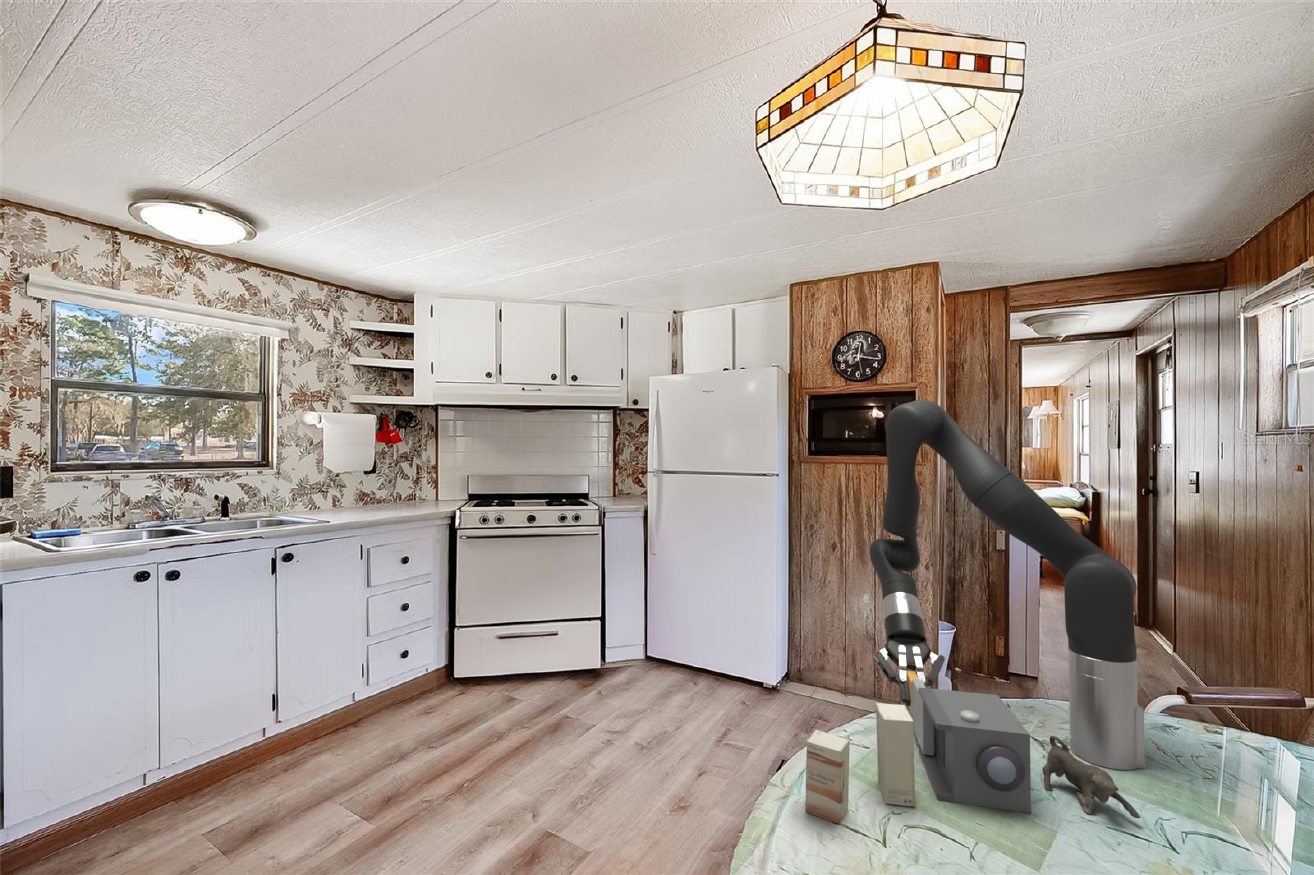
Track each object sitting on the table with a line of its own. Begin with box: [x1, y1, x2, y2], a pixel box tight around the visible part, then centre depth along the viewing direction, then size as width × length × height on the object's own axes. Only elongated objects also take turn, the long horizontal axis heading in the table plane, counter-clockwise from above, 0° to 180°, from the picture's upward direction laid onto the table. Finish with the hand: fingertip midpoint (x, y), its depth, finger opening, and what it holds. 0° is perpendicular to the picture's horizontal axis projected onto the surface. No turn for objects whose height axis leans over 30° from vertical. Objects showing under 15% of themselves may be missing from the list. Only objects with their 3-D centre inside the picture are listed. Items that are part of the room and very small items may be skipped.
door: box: [906, 669, 934, 756], centre depth 103 cm, size 2×17×9 cm, turn 166°
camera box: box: [918, 687, 1032, 814], centre depth 89 cm, size 12×15×12 cm
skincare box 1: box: [804, 729, 851, 824], centre depth 82 cm, size 5×4×10 cm
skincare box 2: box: [875, 702, 916, 807], centre depth 86 cm, size 6×4×12 cm
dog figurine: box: [1042, 735, 1141, 819], centre depth 84 cm, size 12×6×7 cm, turn 10°
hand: (914, 704), depth 107 cm, fingers closed
